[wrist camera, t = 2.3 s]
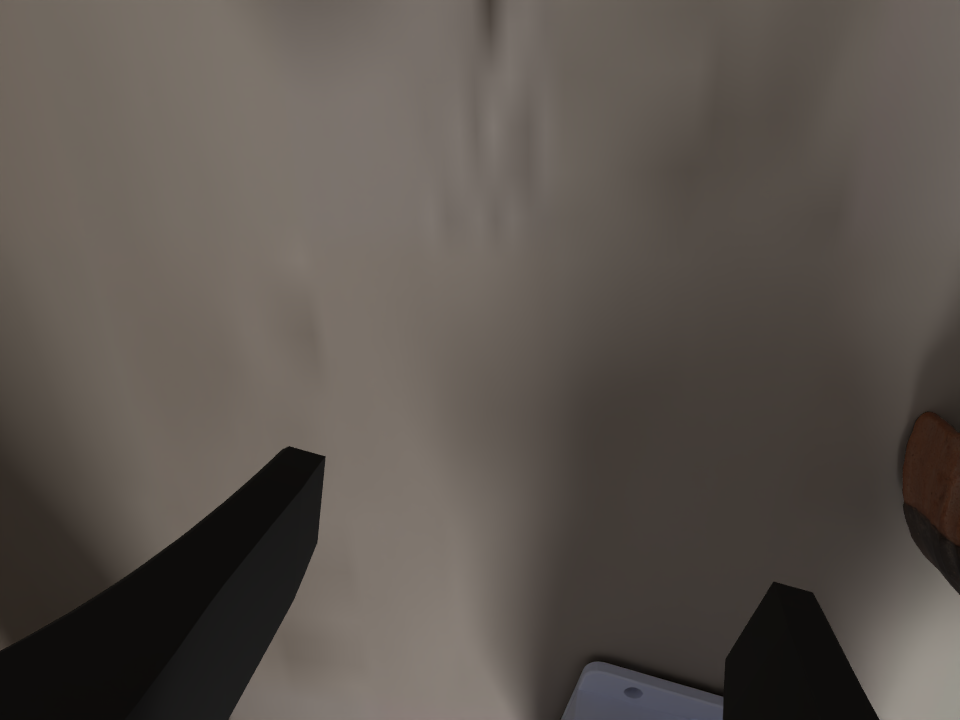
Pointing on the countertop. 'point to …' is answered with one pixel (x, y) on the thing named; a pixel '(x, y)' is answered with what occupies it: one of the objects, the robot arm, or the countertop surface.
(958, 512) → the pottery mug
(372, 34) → the countertop surface
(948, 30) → the countertop surface
